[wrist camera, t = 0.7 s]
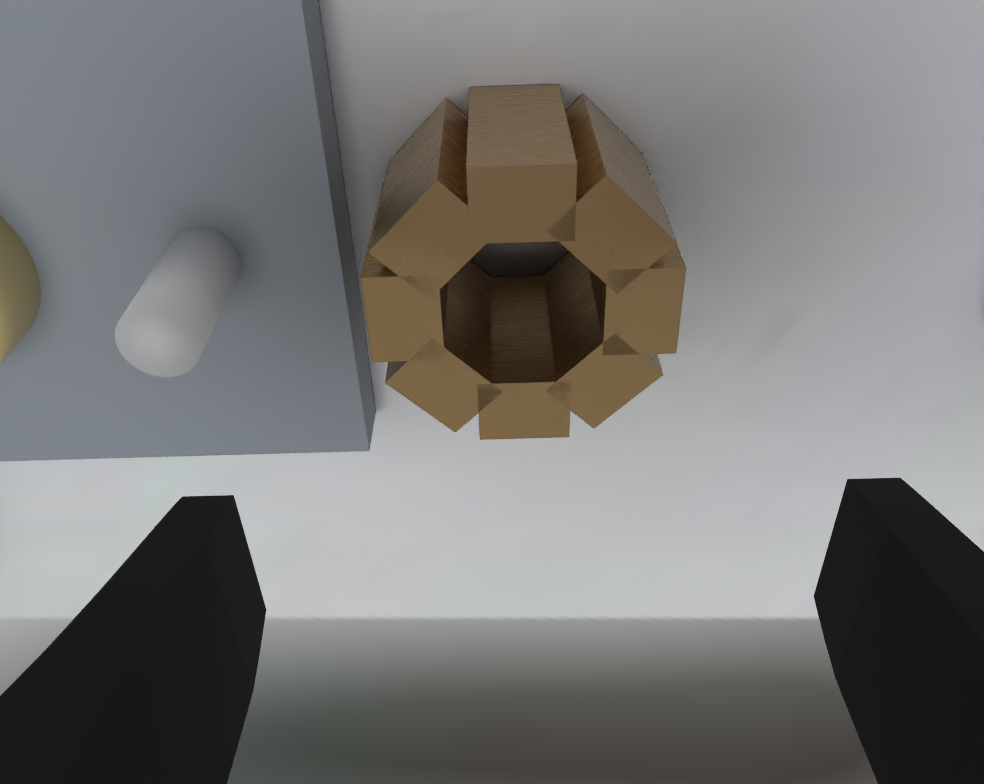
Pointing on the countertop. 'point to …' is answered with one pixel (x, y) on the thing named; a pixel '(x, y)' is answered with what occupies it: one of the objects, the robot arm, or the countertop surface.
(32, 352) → the carrier plate
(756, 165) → the countertop surface
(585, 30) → the countertop surface
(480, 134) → the brown segmented ring
